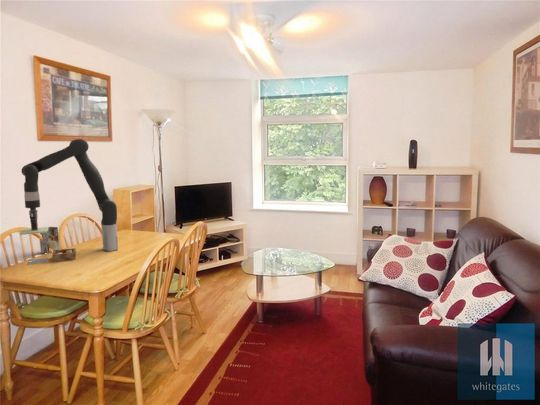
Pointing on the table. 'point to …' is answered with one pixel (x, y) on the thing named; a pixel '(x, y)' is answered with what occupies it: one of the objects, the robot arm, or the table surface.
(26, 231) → the lid
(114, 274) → the table surface
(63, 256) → the box
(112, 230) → the robot arm
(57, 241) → the coffee box
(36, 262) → the mat
